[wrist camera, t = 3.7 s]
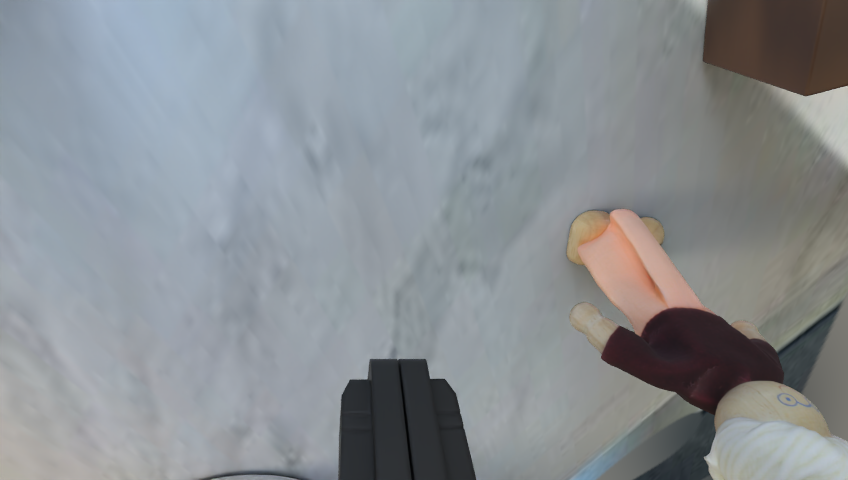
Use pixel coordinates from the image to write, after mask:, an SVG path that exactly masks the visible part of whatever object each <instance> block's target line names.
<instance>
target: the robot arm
mask: <svg viewBox="0 0 848 480" xmlns="http://www.w3.org/2000/svg"><path fill="white" fill-rule="evenodd" d="M338 480H476V477H475V472H474V468H473V464H472V460H471V455H470V451H469V447H468V443H467V439H466V434H465V430H464V429H463V422H462V417H461V414H460V409H459V405H458V400H457V396H456V393H455V392H454V391H453V389H452V388H451V387H450V385H449V384H448V382H447V381H446V380H445V379H430V377H429V371H428V366H427V361H426V359H399V360H398V361H397V359H370V362H369V372H368V380H350V381H349V383H348V385H347V386H346V388H345V390H344V392H343V394H342V399H341V416H340V432H339V474H338Z"/></svg>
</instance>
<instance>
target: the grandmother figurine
mask: <svg viewBox="0 0 848 480" xmlns="http://www.w3.org/2000/svg"><path fill="white" fill-rule="evenodd" d="M663 240H664V229H663V227H662V225H661V223H660V222H659V221H657V220H655V219H653V218H650V217H642V218H639V217H638V216H637V215H636V214H635V213H634V212H633V211H631V210H628V209H617V210H614V211H612V212H611V213H610V215H609V214H608V213H606V212H604V211H596V210H592V211H587V212H584V213H582V214H581V215H579V216H578V217H577V218H576V219H575V221H574V222H573V224H572V225H571V229H570V234H569V240H568V245H567V252H566V253H567V257H568V259H569V260H570V261H572V262H574V263H576V264H578V265H585V266H586V267H587V269H588V270H589V272H590V273H591V275H592V276H593V278H594V280H595V282H596V283H597V285H598V286H599V287H600V288H601V290H602V291H603V292H604V293H605V294H606V296H607V297H608V298H609V300H610V301H611V302H612V303H613V304H614V305H615V306H616V307H617V308H618V309H620V310H621V311H622V312H623V313H624V314H625V315H626V317H627V318H628V320H629V321H630V323H631V324H632V326H633V328H634V330H635V333H636V334H635V333H634V332H632V331H630V330H628V329H625V328H623V327H621V326H619V325H617V324H615V323H614V322H613V321H611V320H610V319H608V318H604V317H603V316H602V315H601V313H600V311H599V310H598V309H597V308H596V307H595V306H594V305H592V304H590V303H587V302H583V303H579V304H577V305H575V306H574V307H573V308H572V310H571V312H570V316H569V318H570V322H571V325H572V326H573V327H574V328H575V329H576V330H578V331H580V332H582V333H584V334H585V335H586V336H587V339H588V341H589V342H590V343H591V344H592V345H593V346H594V347H595V348H596V349H597V350H598V351H599V352H600V353H601V354H602V356H601V359H602V360H604V361H605V362H607V363H608V364H610V365H612V366H615V367H617V368H619V369H621V370H623V371H625V372H627V373H629V374H631V375H633V376H635V377H637V378H639V379H640V380H642V381H644V382H646V383H648V384H650V385H653V386H655V387H658V388H660V389H664V390H668V391H673V392H676V393H677V394H678V395H680V396H681V397H682V398H683V399H684V400H686V401H687V402H689V403H690V404H692V405H694V406H696V407H698V408H700V409H702V410H704V411H707V412H709V413H711V414H713V415H715V420H714V422H715V429H716V435H715V439H714V441H713V444H712V448H711V452H710V453H709V454H708V455H707V456H706V457H705V456H704V459H705V460H706V461H707V464H708V465H709V473H710V475H711V476H712V478H713V479H714V480H848V442H847V441H846V440H843V439H841V438H840V437H837V436H834V435H832V434H831V433H830V432H829V429H828V426H827V424H826V422H825V420H824V418H823V416H822V414H821V413H820V412H819V410H818V409H817V408H816V407H815V405H814V404H813V403H812V402H810V401H809V400H808V399H807V398H806V397H805V396H803V395H802V394H801V393H799V392H797V391H795V390H794V389H792V388H790V387H788V386H785V385H783V380H784V372H783V370H782V367H781V364H780V361H779V357H778V355H777V353H776V351H775V349H774V348H773V347H772V346H771V345H770V344H769V343H767V341H766V340H765V339H764V338H763V337H762V335H760V334H759V331H758V329H757V328H756V326H755V325H753V324H752V323H750V322H748V321H742V320H741V321H736V322H734V323H732V324H731V325H729V324H728V323H727V322H726V321H725V320H724V319H723V318H721V317H720V316H717V315H716V314H715V313H713V312H712V311H711V310H710V309H708V308H706V307H704V306H703V305H702V304H701V302H700V300H699V298H698V297H697V296H696V294H695V293H694V292H693V290H692V289H691V288H690V286H689V285H688V284H687V282H686V281H685V279H684V278H683V276H682V275H681V274H680V272H679V271H678V270H677V268H676V267H675V266H674V264H673V263H672V261H671V260H670V258H669V257H668V255H667V254H666V252H665V251H664V250H663V248H662V247H661V244H662V243H663Z"/></svg>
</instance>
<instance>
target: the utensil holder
mask: <svg viewBox="0 0 848 480" xmlns="http://www.w3.org/2000/svg"><path fill="white" fill-rule="evenodd" d="M210 480H299V479H294V478H289V477H284V476H275V475H236V476H227V477H220V478H214V479H210Z"/></svg>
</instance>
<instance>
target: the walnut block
mask: <svg viewBox="0 0 848 480" xmlns="http://www.w3.org/2000/svg"><path fill="white" fill-rule="evenodd" d="M703 61H704V62H705V63H708V64H711V65H714V66H717V67H720V68H723V69H726V70H729V71H732V72H735V73H738V74H741V75H744V76H747V77H750V78H753V79H756V80H759V81H762V82H765V83H768V84H771V85H773V86H776V87H779V88H782V89H785V90H788V91H791V92H794V93H797V94H800V95H803V96H809V95H813V94H817V93H821V92H825V91H829V90H832V89H836V88H840V87H844V86H848V0H708V5H707V17H706V29H705V41H704V53H703Z"/></svg>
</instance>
